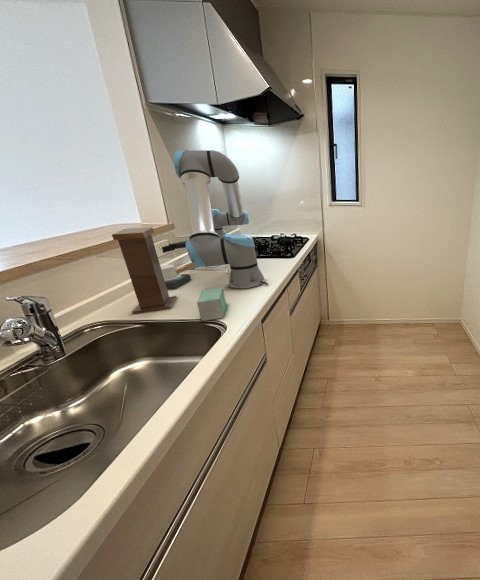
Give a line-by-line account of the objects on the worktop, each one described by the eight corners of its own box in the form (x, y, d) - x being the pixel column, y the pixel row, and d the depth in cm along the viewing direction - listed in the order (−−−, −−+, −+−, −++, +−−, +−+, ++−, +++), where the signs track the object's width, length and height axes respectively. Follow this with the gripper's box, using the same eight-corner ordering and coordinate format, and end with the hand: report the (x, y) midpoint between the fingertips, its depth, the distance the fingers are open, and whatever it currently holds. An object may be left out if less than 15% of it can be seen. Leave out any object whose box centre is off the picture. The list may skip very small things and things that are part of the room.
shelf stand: (143, 302, 128) (119, 229, 117) (176, 297, 132) (157, 226, 121) (133, 314, 117) (106, 234, 107) (170, 308, 122) (147, 232, 111)
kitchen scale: (191, 279, 154) (189, 272, 153) (175, 289, 142) (173, 281, 141) (164, 280, 154) (162, 273, 152) (146, 289, 142) (143, 282, 140)
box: (226, 304, 125) (222, 286, 122) (224, 317, 113) (219, 299, 111) (206, 307, 123) (201, 289, 120) (201, 321, 111) (196, 302, 108)
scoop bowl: (168, 279, 143) (165, 269, 141) (155, 278, 144) (152, 268, 142) (200, 266, 162) (198, 257, 161) (188, 265, 163) (186, 256, 162)
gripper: (227, 248, 170) (200, 258, 150) (186, 247, 173) (154, 257, 153) (225, 234, 167) (197, 243, 147) (183, 233, 170) (150, 242, 151)
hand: (175, 250), depth 150 cm, fingers open, 13 cm apart
